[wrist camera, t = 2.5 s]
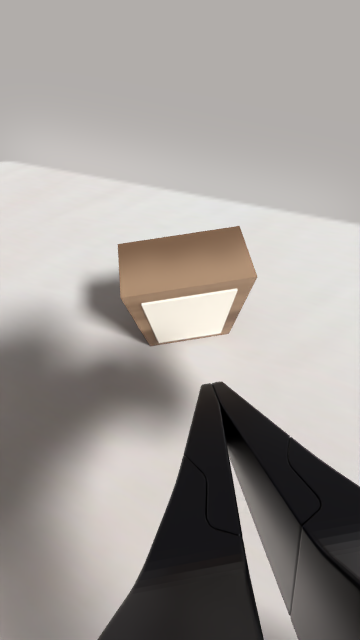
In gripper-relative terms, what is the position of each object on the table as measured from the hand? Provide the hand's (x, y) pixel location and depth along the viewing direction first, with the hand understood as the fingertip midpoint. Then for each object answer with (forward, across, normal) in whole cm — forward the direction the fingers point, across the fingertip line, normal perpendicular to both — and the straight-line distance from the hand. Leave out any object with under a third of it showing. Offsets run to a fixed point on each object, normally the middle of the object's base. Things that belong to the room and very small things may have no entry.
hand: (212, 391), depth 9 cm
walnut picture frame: (+14, 0, +3) cm, 14 cm away
